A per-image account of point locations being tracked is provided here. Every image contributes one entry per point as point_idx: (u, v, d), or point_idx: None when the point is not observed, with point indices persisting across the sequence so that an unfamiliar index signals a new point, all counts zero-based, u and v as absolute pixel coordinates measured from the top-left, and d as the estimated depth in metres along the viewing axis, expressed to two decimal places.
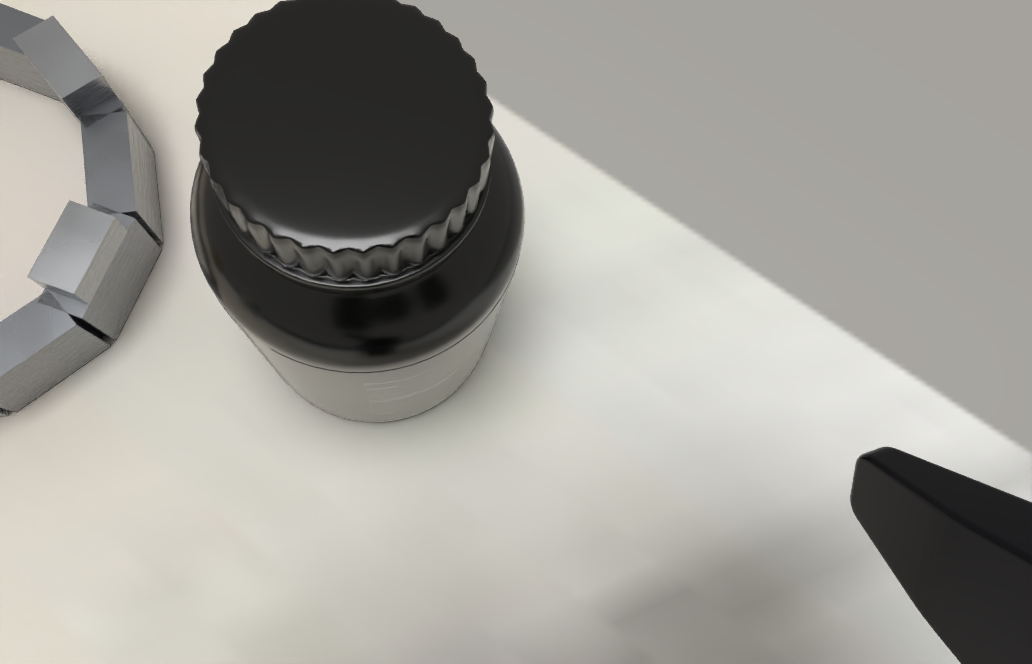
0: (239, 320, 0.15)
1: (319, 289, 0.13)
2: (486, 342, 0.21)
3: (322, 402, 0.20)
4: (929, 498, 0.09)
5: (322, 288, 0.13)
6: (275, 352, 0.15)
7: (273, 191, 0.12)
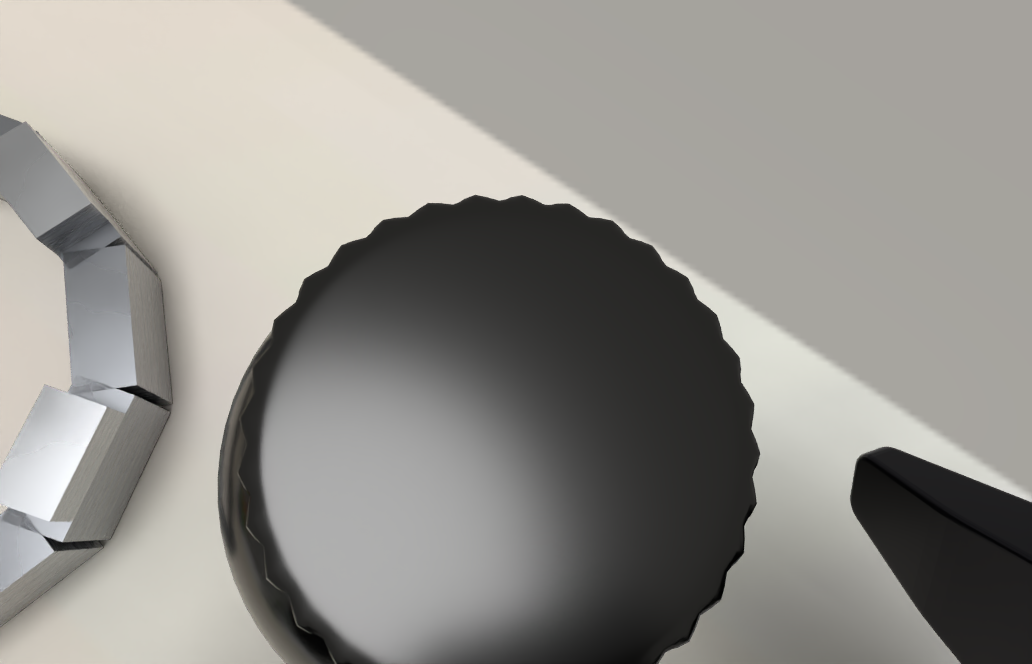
0: None
1: None
2: None
3: None
4: (929, 498, 0.09)
5: None
6: None
7: (382, 601, 0.06)
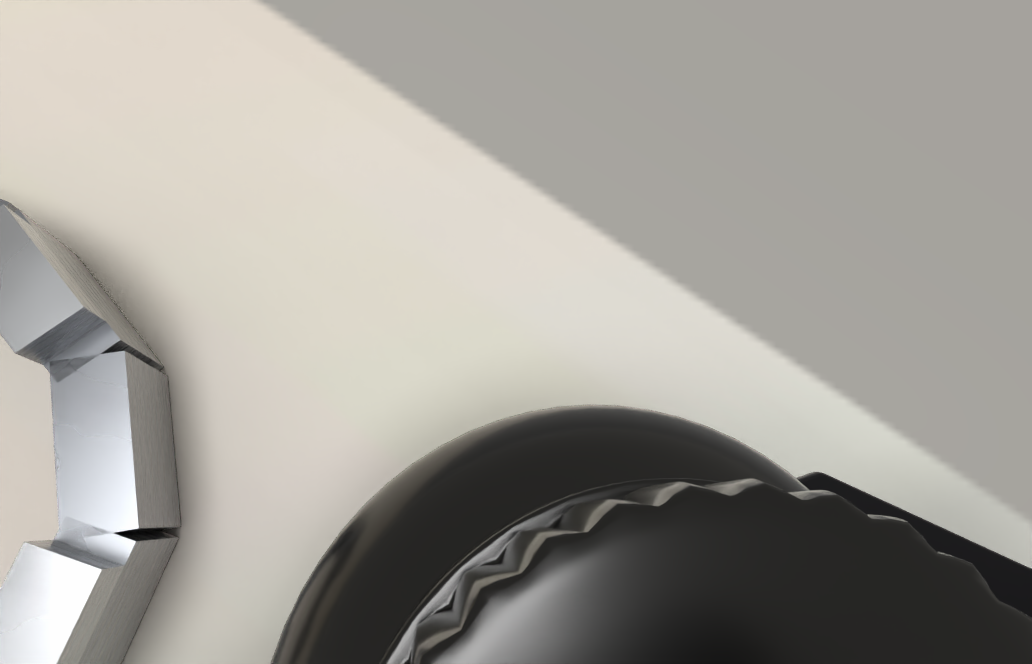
0: None
1: None
2: None
3: None
4: None
5: None
6: None
7: None
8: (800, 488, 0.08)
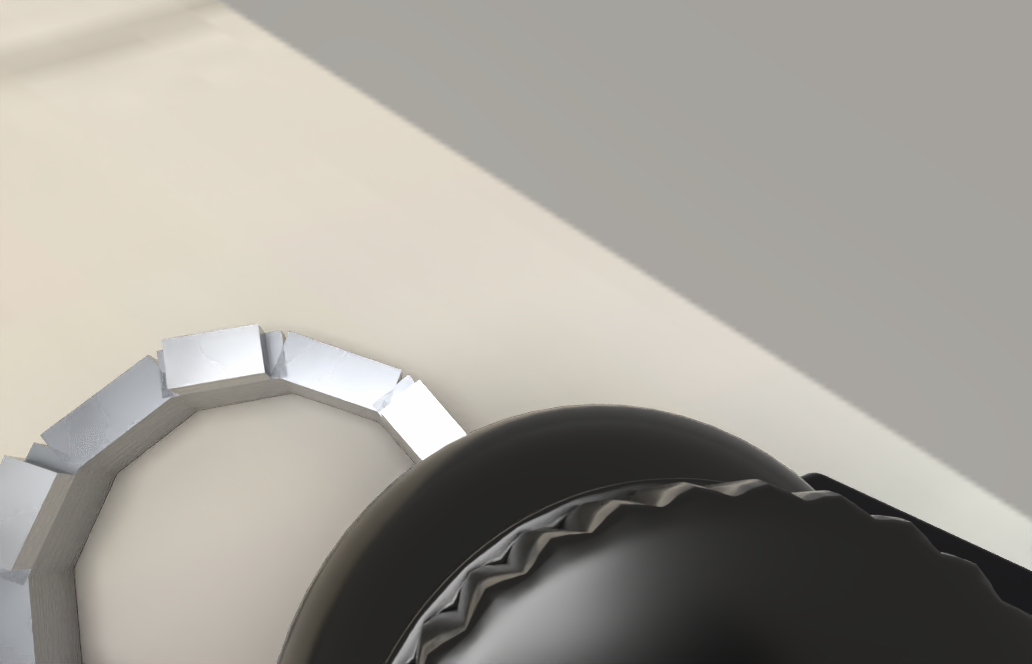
0: None
1: None
2: None
3: None
4: None
5: None
6: None
7: None
8: (804, 487, 0.08)
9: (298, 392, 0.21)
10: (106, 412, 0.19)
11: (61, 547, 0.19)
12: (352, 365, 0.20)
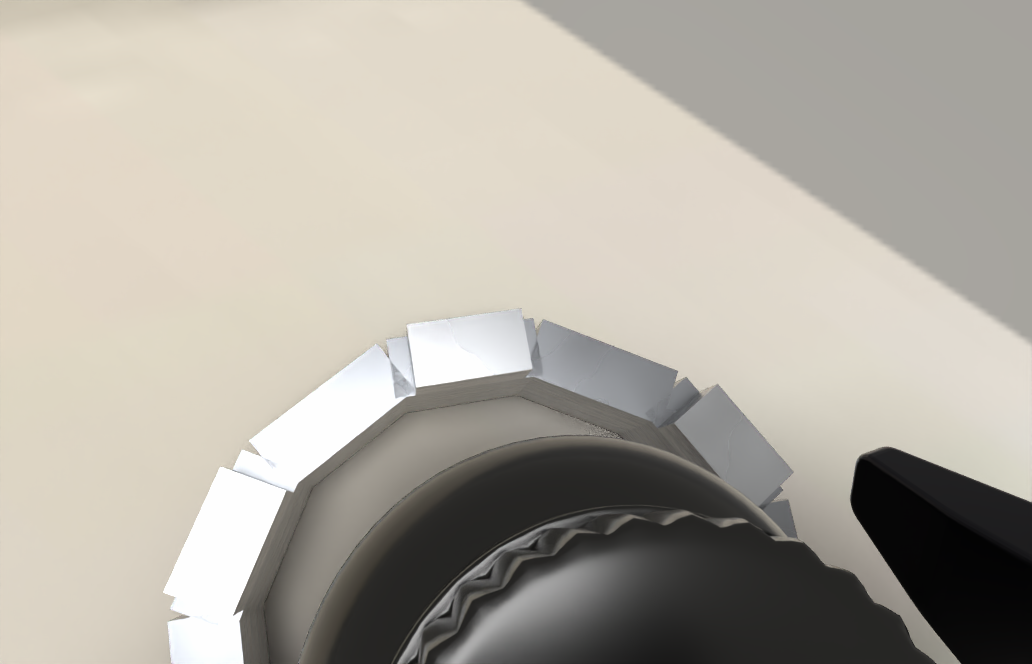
0: None
1: None
2: None
3: None
4: (929, 498, 0.09)
5: None
6: None
7: None
8: (747, 505, 0.09)
9: (529, 394, 0.18)
10: (328, 414, 0.15)
11: (264, 580, 0.15)
12: (619, 363, 0.16)
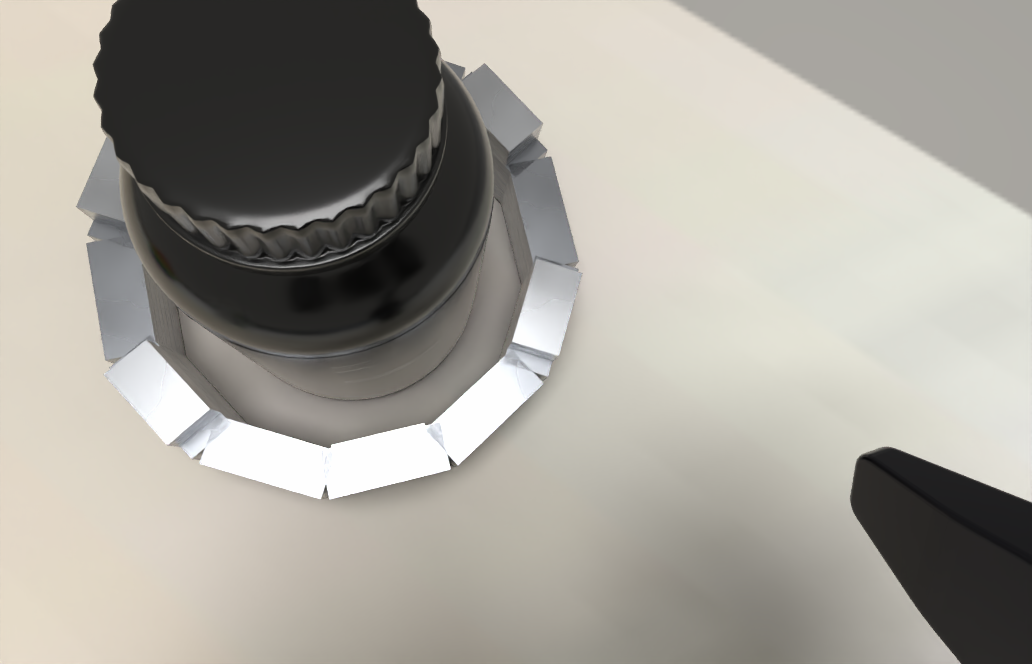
0: (183, 310, 0.14)
1: (261, 272, 0.12)
2: (469, 308, 0.20)
3: (298, 385, 0.19)
4: (929, 498, 0.09)
5: (263, 270, 0.12)
6: (228, 341, 0.14)
7: (189, 166, 0.10)
8: None
9: None
10: None
11: None
12: None
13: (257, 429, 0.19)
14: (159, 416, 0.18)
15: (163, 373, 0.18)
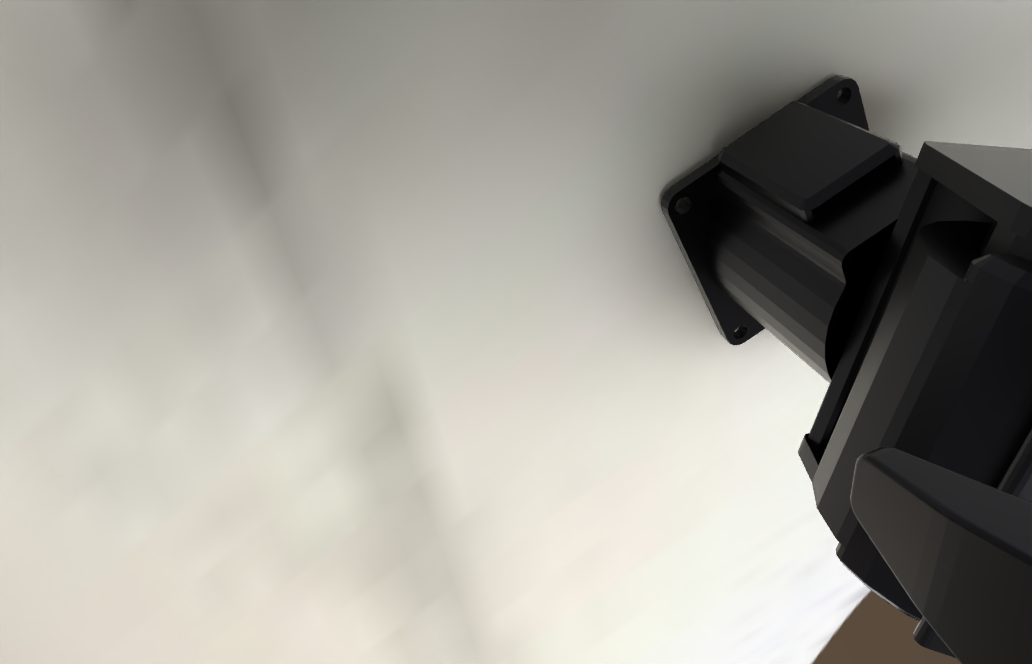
0: None
1: None
2: None
3: None
4: (929, 498, 0.09)
5: None
6: None
7: None
8: None
9: None
10: None
11: None
12: None
13: None
14: None
15: None
